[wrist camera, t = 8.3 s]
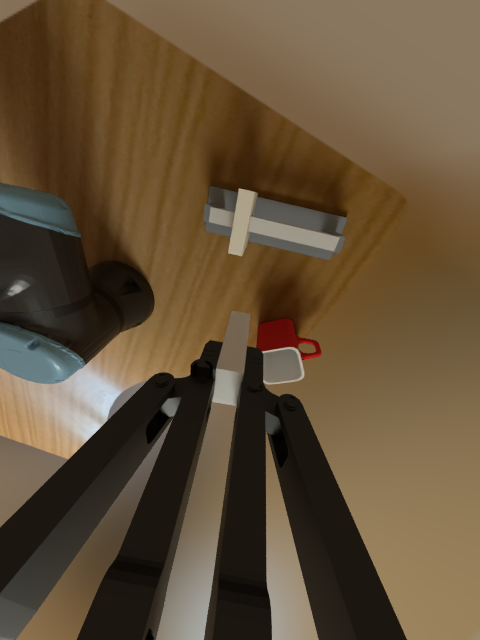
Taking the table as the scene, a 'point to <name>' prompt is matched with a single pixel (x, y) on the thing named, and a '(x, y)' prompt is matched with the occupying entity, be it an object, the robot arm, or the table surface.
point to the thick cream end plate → (242, 221)
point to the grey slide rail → (278, 224)
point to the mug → (282, 351)
